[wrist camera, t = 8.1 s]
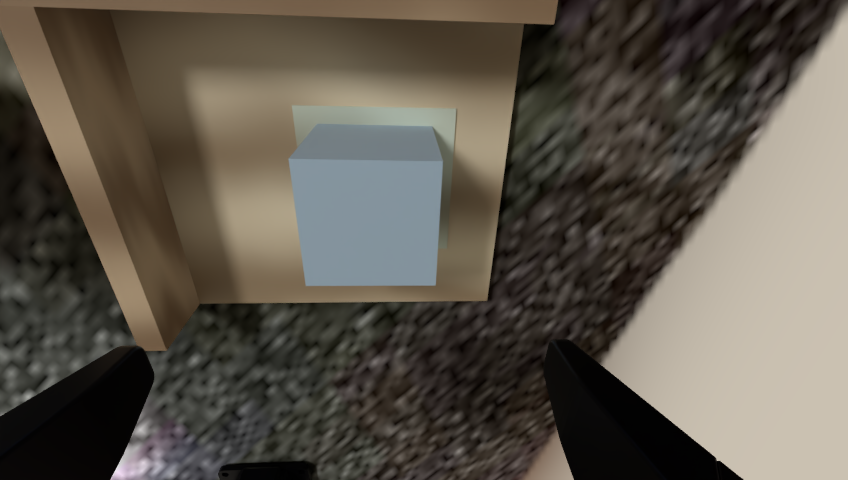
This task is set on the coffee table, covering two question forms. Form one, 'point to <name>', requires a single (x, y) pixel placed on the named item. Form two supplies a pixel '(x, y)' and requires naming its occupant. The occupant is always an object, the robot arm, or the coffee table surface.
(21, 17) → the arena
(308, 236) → the cube
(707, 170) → the coffee table surface
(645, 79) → the coffee table surface
